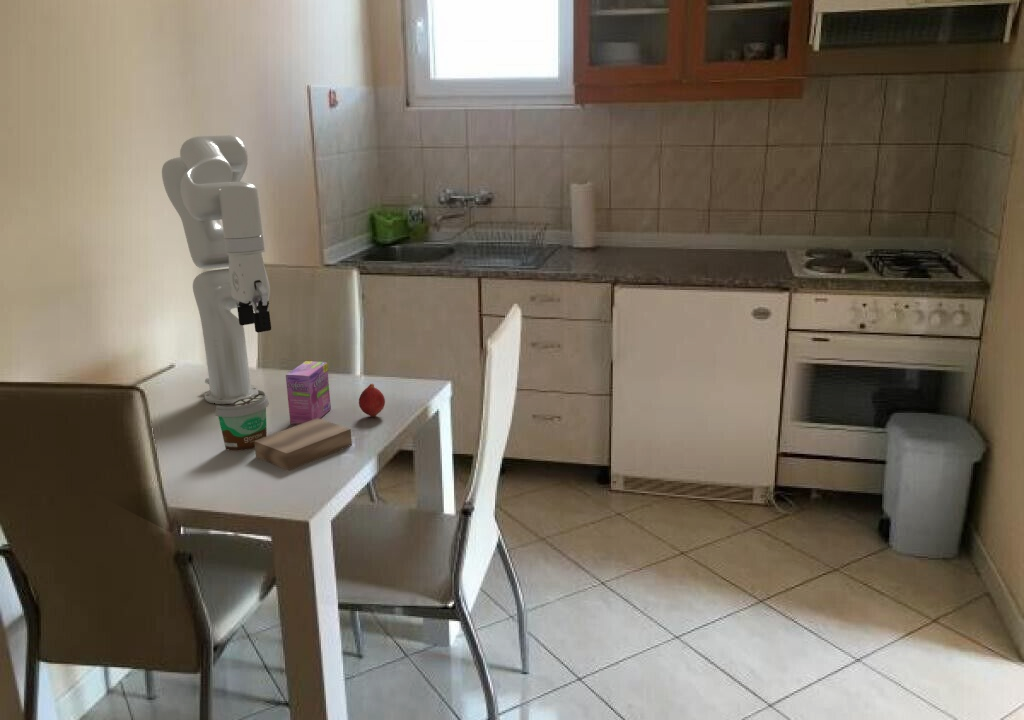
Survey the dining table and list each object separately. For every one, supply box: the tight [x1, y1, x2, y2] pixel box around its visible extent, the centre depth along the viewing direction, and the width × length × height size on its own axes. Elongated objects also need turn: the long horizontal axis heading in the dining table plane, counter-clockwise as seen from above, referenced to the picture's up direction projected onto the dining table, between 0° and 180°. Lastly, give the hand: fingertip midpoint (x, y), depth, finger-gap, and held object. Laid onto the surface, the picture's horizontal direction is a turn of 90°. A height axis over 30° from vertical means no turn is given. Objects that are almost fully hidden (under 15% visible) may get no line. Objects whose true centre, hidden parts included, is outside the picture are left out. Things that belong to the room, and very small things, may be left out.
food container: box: [214, 389, 270, 451], centre depth 178 cm, size 12×6×10 cm, turn 148°
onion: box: [358, 383, 386, 418], centre depth 193 cm, size 6×6×8 cm
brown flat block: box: [254, 418, 353, 471], centre depth 175 cm, size 11×16×4 cm
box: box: [285, 360, 332, 425], centre depth 193 cm, size 10×6×12 cm, turn 168°
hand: (255, 327), depth 177 cm, fingers open, 9 cm apart
